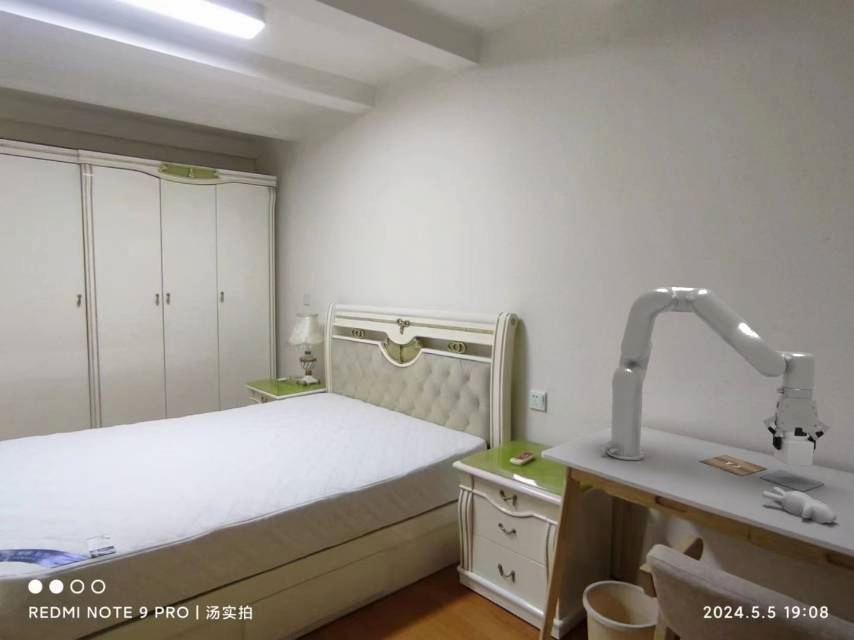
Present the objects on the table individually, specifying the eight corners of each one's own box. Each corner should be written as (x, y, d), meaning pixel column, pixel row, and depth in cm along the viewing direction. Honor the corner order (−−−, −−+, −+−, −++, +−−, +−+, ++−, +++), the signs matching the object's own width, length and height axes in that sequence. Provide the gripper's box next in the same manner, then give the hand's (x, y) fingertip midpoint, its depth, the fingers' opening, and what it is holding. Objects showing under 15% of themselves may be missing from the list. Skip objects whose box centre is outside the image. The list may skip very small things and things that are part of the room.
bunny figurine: (827, 514, 123) (761, 485, 136) (822, 533, 124) (757, 503, 136) (843, 505, 128) (778, 478, 140) (839, 524, 129) (775, 495, 141)
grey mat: (802, 492, 145) (802, 490, 145) (759, 477, 156) (759, 476, 156) (824, 484, 151) (824, 483, 151) (780, 471, 161) (781, 469, 161)
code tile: (741, 476, 157) (741, 475, 157) (699, 461, 169) (699, 461, 169) (767, 468, 163) (767, 468, 163) (725, 455, 176) (725, 454, 176)
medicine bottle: (797, 457, 156) (800, 420, 155) (812, 466, 149) (815, 426, 148) (773, 456, 157) (775, 419, 156) (787, 465, 150) (789, 425, 149)
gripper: (767, 393, 150) (764, 451, 152) (837, 398, 145) (833, 457, 146) (759, 388, 157) (756, 443, 159) (826, 392, 152) (822, 449, 153)
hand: (793, 450), depth 153 cm, fingers closed on medicine bottle, 8 cm apart
